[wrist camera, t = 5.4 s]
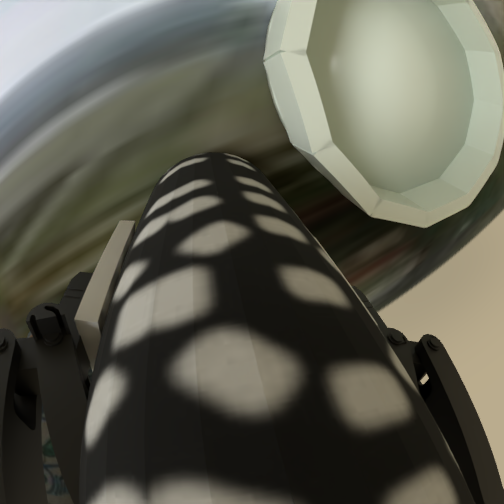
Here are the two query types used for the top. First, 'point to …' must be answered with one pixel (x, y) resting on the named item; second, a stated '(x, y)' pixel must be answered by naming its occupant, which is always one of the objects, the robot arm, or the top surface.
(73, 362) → the robot arm
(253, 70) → the top surface
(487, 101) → the bowl
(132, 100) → the top surface
